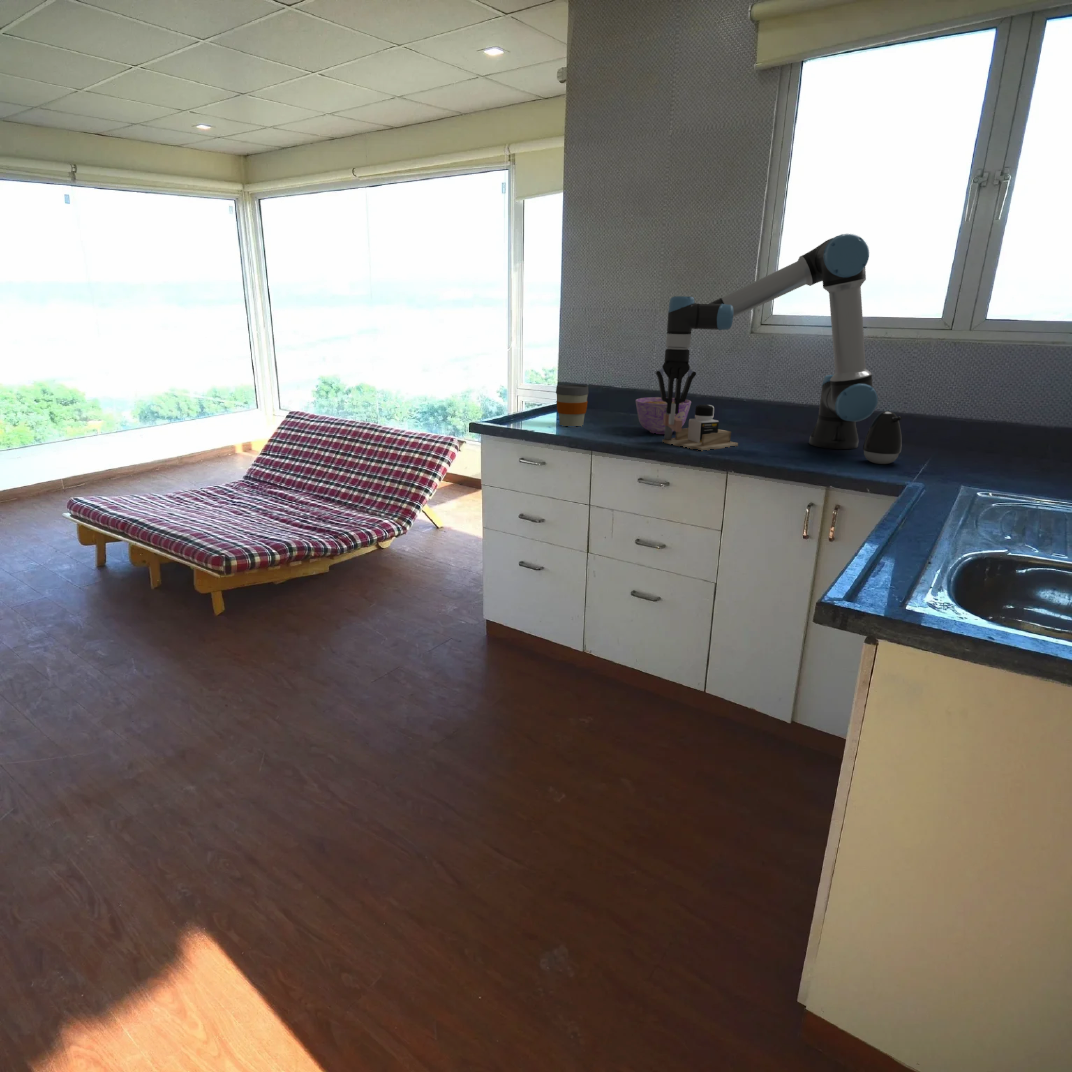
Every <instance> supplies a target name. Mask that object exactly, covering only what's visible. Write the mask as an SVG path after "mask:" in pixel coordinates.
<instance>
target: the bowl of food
mask: <svg viewBox="0 0 1072 1072" xmlns="http://www.w3.org/2000/svg"><path fill="white" fill-rule="evenodd" d="M666 398H667V396H666ZM674 399H675V397H672V403H675V402H674ZM691 404H692V401H691V400H689V399H686V400H685V402H681V403H680V404H679V410H678V414H675V416H676V417H677V418H679V419H680V420H682V427H683V426H684V425H685V423H686V421H687V418H688V415H689V411H690V408H691ZM635 405H636V413H637V418H638V422H639V423H640V425H641V427H642V428H644V429H645V430H647V431H649V433H650V434H654V433H656V435H665V425H664V424H663V418H664V414H666V408H667V403H666V402H664V401H662V399H661V396H660V397H659V396H655V397H653V396H652V397H651V396H650V397H640V398H637V399H635ZM674 432H675V431H674V430H673V429H672V434H673V433H674Z"/></svg>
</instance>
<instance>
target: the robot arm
mask: <svg viewBox="0 0 1072 1072" xmlns="http://www.w3.org/2000/svg"><path fill="white" fill-rule="evenodd" d="M869 258H870V247H869V246H868V243H867V241H865V239H864V238H863V237H861V236H860V235H858V234H854V233H841V234H839V235H835V236H834V237H831V238H829V239H826V240H825V241H824V242H822V243H820V244H819V245H818V246H816V247H815V248H813V249H811V250H810V251H808V252H807V253H804V254H802V255H800V256H799V257H798V259H797V261H795V262H793V263H791V264H788V265H787V266H785V267H782V268H780V269H777V271H774V272H772V273H770V274H768V275H766V276H763V277H761V278H759V279H757V280H755V281H754V282H751V283H749V284H747V285H744V286H743V287H740V288H738V289H736V290H734V291H732V292H729V293H728V294H726V295H724V296H721V297H720V298H718V299H716V300H713V301H711V302H709V303H696V302H695V298H694V297H693V296H684V295H681V296H680V295H676V296H672V297H671V298H670V299H669V304H668V312H667V327H666V336H665V337H666V340H665V347H667V348H666V349H665V351H664V360H663V361H664V362H663V364H662V366H661V368H659V369H658V370H655V372H654V374H655V375H656V377H657V379H658V385H659V386H658V387H659V392H660V397H661V399H662V401H664V402H666V403H667V410H666V412H667V413H668V414H669V424H670V425H674V420H675V414H678V410H679V404H680V403H681V402H685V400H687V396H688V393H689V391H690V388H691V385H692V382H693V379H694V378H695V377H696V375H697V372H696V371H693V370H692V369H691V367H690V364H689V363H690V362H689V361H690V349H689V348H691V339H692V330H716V331H717V330H718V331H724V330H730V329H731V328H732V325H733V322H734V318H736V317H738V316H741V315H743V314H745V313H747V312H749V311H751V310H753V309H756V308H758V307H761V306H762V305H764V304H767V303H769V302H770V301H773V300H775V299H778V298H779V297H781V296H784V295H787V294H788V293H790V292H793V291H795V290H797V289H800V288H801V287H804V286H805V285H806V286H813V285H816V284H818V283H821V282H822V288H823V289H824V290H825V291H826V292H828V297H829V311H830V321H831V336H832V337H831V338H832V349H833V351H832V352H833V362H834V373H833V374H827V375H825V376H824V378H823V380H822V383H821V392H820V394H821V395H820V401H819V408H818V409H819V410H818V416H817V421H816V423H815V426H814V428H813V429H812V431H811V434H810V436H809V441H808V443H809V445H811V446H814V447H817V448H824V449H833V450H850V449H851V450H852V449H857V448H858V447H859V441H860V440H859V435H858V431H857V430H858V429H857V426H856V425H857V424H856V422H861V421H863V420H866V419H867V418H869V417H871V415H872V414H873V413H874V412H875V410H876V408H877V406H878V401H879V398H878V394H877V392H876V390H875V388H874V386H873V377H872V374H873V373H872V372H871V371H870V370H869V369H867V367H866V350H865V337H864V334H865V333H864V320H863V319H864V318H863V316H864V315H863V306H862V305H863V304H862V289H861V287H862V285H863V284H864V283H865V281H867V274H866V266H867V264H868V262H869ZM664 374H665V375H666V377H667V378H668V379H667V394H666V386H665V381H664V377H663V376H664ZM686 374H687V377H686V380H685V384H684V386H683V389H682V382H683V378H684V377H685V375H686ZM674 381H675V391H674ZM681 390H682V392H681ZM673 394H674V398H675V399H674V402H675V403H672V398H673ZM666 397H667V398H666Z"/></svg>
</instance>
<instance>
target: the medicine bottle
mask: <svg viewBox="0 0 1072 1072" xmlns="http://www.w3.org/2000/svg"><path fill="white" fill-rule="evenodd" d="M694 409H695V411H694V418H689V420H688V427H687V428H688V440H690V441H694V442H697V443H702V435H704V434H712V433H718V429H719V424H720V423H719V422H720V421H719V420H717V419H713V418H714V414H715V407H714V405H712V404H697V405H696V406H695V408H694Z"/></svg>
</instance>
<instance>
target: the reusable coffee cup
mask: <svg viewBox="0 0 1072 1072" xmlns="http://www.w3.org/2000/svg"><path fill="white" fill-rule="evenodd" d="M555 394H556V408H557V410H556V411H557V413H558V417H559V419H558V420H559V426H560V425H563V426H581V427H583V426H584V420H585V416H586V415H585V414H586V413H587V409H588V402H589V401H588V396H589V394H590V393H589V386H588V385H585V384H573V383H572V384H568V383H567V384H557V385H556V389H555ZM582 425H583V426H582ZM563 426H562V427H563Z"/></svg>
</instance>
